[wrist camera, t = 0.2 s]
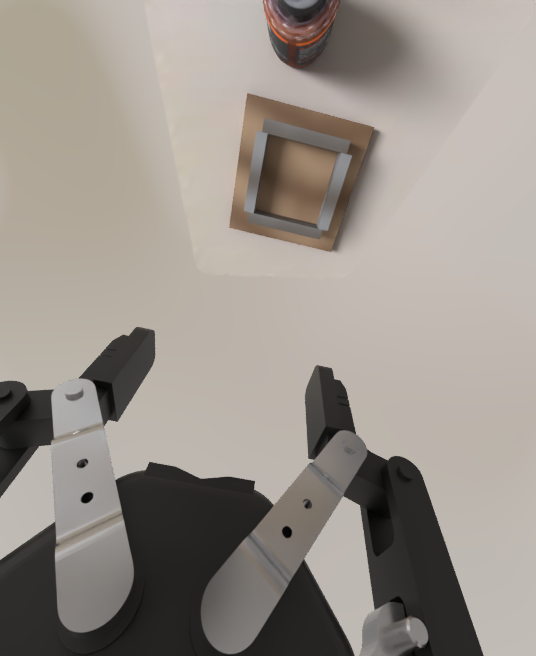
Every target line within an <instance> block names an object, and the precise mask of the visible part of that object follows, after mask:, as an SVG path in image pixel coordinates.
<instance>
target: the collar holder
mask: <svg viewBox="0 0 536 656" xmlns="http://www.w3.org/2000/svg"><path fill="white" fill-rule="evenodd" d="M373 129H374V127H371V126H367V125H364V124H360V123H356V122H352V121H349V120H345V119H341V118H338V117H334V116H330V115H326V114H323V113H319V112H315V111H311V110H308V109H304V108H300V107H297V106H293V105H289V104H285V103H282V102H278V101H274V100H271V99H267V98H263V97H259V96H256V95H252V94H248V93H247V100H246V107H245V115H244V122H243V130H242V137H241V145H240V152H239V160H238V167H237V174H236V182H235V189H234V197H233V204H232V212H231V219H230V227H229V228H233V229H237V230H242V231H246V232H250V233H254V234H258V235H263V236H267V237H271V238H275V239H279V240H284V241H288V242H292V243H296V244H301V245H305V246H309V247H313V248H317V249H322V250H326V251H330V252H331V250H332V247H333V244H334V241H335V239H336V236H337V233H338V230H339V227H340V224H341V221H342V218H343V216H344V213H345V210H346V207H347V204H348V201H349V198H350V195H351V193H352V190H353V187H354V184H355V181H356V178H357V175H358V172H359V169H360V167H361V164H362V161H363V158H364V155H365V152H366V149H367V146H368V144H369V141H370V138H371V135H372V132H373Z"/></svg>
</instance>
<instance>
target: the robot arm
mask: <svg viewBox="0 0 536 656" xmlns="http://www.w3.org/2000/svg"><path fill="white" fill-rule="evenodd" d="M154 359H155V332H154V330H150V329H145V328H141V327H136V328H135V329H134V330H133V332H132V333H131V334H130V335H129V336H126V335H122V336H120V337H118V338H117V339H115V340H113V341H112V342H111V343H110V344H109V345H108V346H107V347H106V349H105V350H104V351H103V352H102V353H101V355H100V356H98V358H96V360H95V361H94V362H93V363H92V364H91V365H90V366H89V367H88V368H87V370H86V371H85V372H84V373H83V374H82V375H81V376H80V377H79V378H78V379H72V380H68V381H66V382H64V383H62V384H60V385H59V386H57V387H56V388H55V389H54V390H40V391H39V390H38V391H27V388H26V386H25V385H24V384H23V383H21V382H17V381H4V382H0V497H1V496H2V495H3V493H4V492H5V491H6V489H7V488H8V487H9V485H10V484H11V483H12V481H13V480H14V479H15V477H16V476H17V475H18V473H19V472H20V471H21V470H22V468H23V467H24V466H25V464H26V463H27V461H28V460H29V459H30V458H31V456H32V455H33V454H34V452H35V451H36V450H37V448H38V447H39V446H43V445H51V453H52V470H53V471H52V472H53V488H54V506H55V522H54V523H53V524H51V525H50V526H48V527H47V528H45V529H44V530H43V531H41V532H40V533H38V534H37V535H35V536H34V537H33V538H31V539H30V540H28V541H27V542H25V543H24V544H22V545H21V546H20V547H18V548H17V549H15V550H14V551H13V552H11V553H10V554H8V555H7V556H5V557H4V558H2V559H1V560H0V656H354V653H353V650H352V648H351V645H350V643H349V641H348V639H347V637H346V635H345V633H344V631H343V630H342V628H341V626H340V624H339V622H338V620H337V618H336V617H335V615H334V613H333V611H332V609H331V608H330V606H329V604H328V602H327V600H326V599H325V596H324V595H323V593H322V591H321V589H320V588H319V586H318V584H317V582H316V580H315V578H314V576H313V575H312V573H311V571H310V569H309V567H308V565H307V563H306V562H305V560H304V558H305V556H306V555H307V553H308V552H309V550H310V548H311V547H312V545H313V543H314V542H315V540H316V539H317V537H318V535H319V534H320V532H321V531H322V529H323V527H324V526H325V524H326V522H327V521H328V519H329V518H330V516H331V515H332V513H333V511H334V510H335V508H336V506H337V505H338V503H339V502H340V500H341V498H342V497H343V496H344V497H346V498H348V499H350V500H352V501H353V502H355V503H357V504H359V505H360V507H361V515H362V522H363V530H364V536H365V544H366V550H367V558H368V565H369V573H370V579H371V587H372V594H373V601H374V608H375V610H374V611H372V612H371V613H370V614H368V615H367V617H366V619H365V621H364V624H363V630H362V649H361V653H360V655H359V656H483V653H482V650H481V647H480V644H479V641H478V638H477V635H476V632H475V629H474V626H473V623H472V620H471V618H470V615H469V612H468V609H467V606H466V603H465V600H464V597H463V594H462V591H461V588H460V585H459V582H458V579H457V576H456V574H455V571H454V568H453V565H452V562H451V559H450V556H449V553H448V550H447V547H446V544H445V541H444V538H443V536H442V533H441V530H440V527H439V524H438V521H437V518H436V515H435V512H434V509H433V506H432V503H431V500H430V497H429V494H428V492H427V489H426V486H425V483H424V480H423V477H422V475H421V473H420V471H419V470H418V468H417V467H416V466H415V465H414V464H413V463H412V462H410V461H409V460H407V459H405V458H403V457H400V456H394V457H391V458H390V459H389V460H385V459H384V458H382V457H380V456H377V455H375V454H373V453H371V452H370V451H369V450H367V448H366V445H365V443H364V442H363V441H362V439H361V438H360V437H359V436H357V435H356V432H355V427H354V423H353V418H352V414H351V409H350V407H349V400H348V396H347V392H346V389H345V387H344V386H343V384H342V383H341V381H340V380H335V379H334V376H333V371H332V368H328V367H323V366H318V365H317V366H316V367H315V369H314V371H313V373H312V376H311V378H310V381H309V383H308V386H307V389H306V394H305V405H306V423H307V440H308V458H309V459H313V460H314V461H313V462H312V463H309V464H308V465H307V467H306V468H305V469H304V470H303V471H302V473H301V474H300V475H299V476H298V477H297V479H296V480H295V481H294V482H293V483H292V485H291V486H290V487H289V488H288V489H287V491H286V492H285V493H284V494H283V495H282V497H281V498H280V499H279V500H278V502H277V503H276V504H275V505H273V504H272V503H271V502H270V501H269V499H267V498H266V497H265V496H264V495H262V494H261V493H259V492H257V491H256V490H254V484H255V481H251V480H245V479H240V478H234V477H220V478H208V479H200V478H198V477H196V476H193V475H192V474H189V473H187V472H185V471H183V470H181V469H179V468H177V467H174V466H168V465H163V464H157V463H152V462H149V464H148V467H147V469H146V470H144V471H138V472H134V473H130V474H127V475H125V476H123V477H121V478H118V479H117V480H115V477H114V472H113V468H112V462H111V458H110V453H109V448H108V443H107V439H106V434H105V429H104V426H105V424H106V423H107V421H108V420H112V421H118V420H119V418H120V417H121V415H122V414H123V412H124V410H125V409H126V407H127V405H128V404H129V402H130V401H131V399H132V398H133V396H134V394H135V393H136V391H137V390H138V388H139V386H140V385H141V383H142V381H143V380H144V378H145V377H146V375H147V374H148V372H149V370H150V368H151V367H152V365H153V362H154Z"/></svg>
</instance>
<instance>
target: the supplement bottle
mask: <svg viewBox="0 0 536 656" xmlns="http://www.w3.org/2000/svg"><path fill="white" fill-rule="evenodd" d="M339 2H340V0H263V4H264V11H265V15H266V20H267V25H268V31H269V36H270V40H271V43H272V46H273V48H274V50H275V52H276V54H277V56H278V57H279V58H280V60H282V61H283V62H284V63H285V64H287V65H289V66H292V67H303V66H306V65H308V64H310V63H312V62H313V61H314V60H315V59H316V58H317V57H318V56H319V55H320V54H321V52H322V51H323V49H324V47H325V45H326V43H327V40H328V38H329V34H330V31H331V28H332V25H333V22H334V19H335V16H336V12H337V9H338V6H339Z"/></svg>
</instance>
